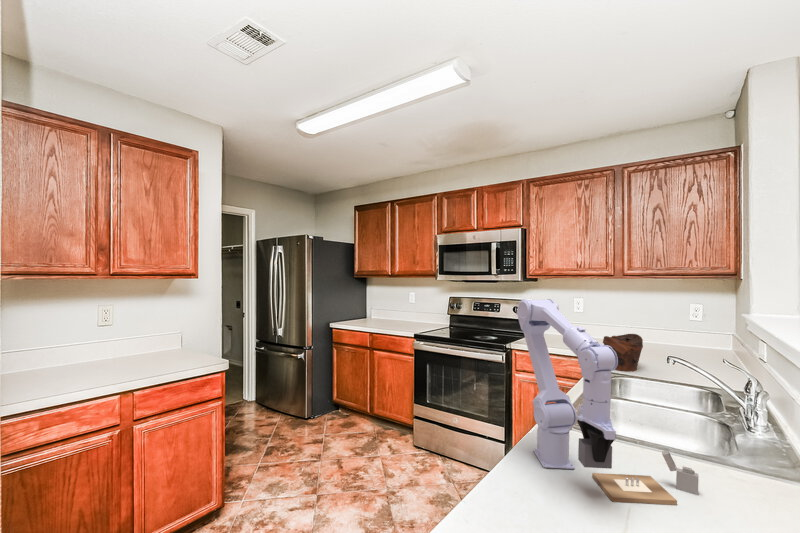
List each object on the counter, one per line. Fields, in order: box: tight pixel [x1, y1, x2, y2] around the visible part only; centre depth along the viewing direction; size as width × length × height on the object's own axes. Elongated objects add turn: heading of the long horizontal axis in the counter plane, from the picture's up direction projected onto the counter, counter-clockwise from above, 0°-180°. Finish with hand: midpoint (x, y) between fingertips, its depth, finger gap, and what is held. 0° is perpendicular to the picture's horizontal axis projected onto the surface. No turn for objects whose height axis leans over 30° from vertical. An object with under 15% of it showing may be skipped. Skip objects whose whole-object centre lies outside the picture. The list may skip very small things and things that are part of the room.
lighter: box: [661, 450, 699, 496], centre depth 92 cm, size 7×2×8 cm, turn 53°
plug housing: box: [577, 437, 613, 470], centre depth 89 cm, size 4×6×5 cm, turn 86°
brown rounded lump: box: [602, 333, 644, 372], centre depth 201 cm, size 18×20×18 cm
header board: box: [591, 472, 678, 506], centre depth 91 cm, size 10×14×3 cm
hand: (595, 456), depth 89 cm, fingers closed on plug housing, 4 cm apart
